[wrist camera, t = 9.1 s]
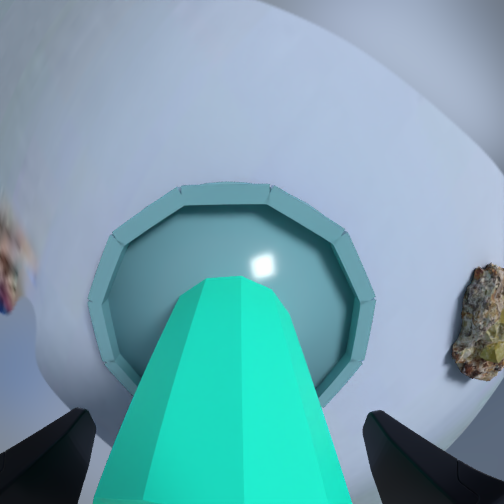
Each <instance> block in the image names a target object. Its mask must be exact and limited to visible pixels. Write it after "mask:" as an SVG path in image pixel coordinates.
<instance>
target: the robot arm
mask: <svg viewBox="0 0 504 504" xmlns="http://www.w3.org/2000/svg"><path fill="white" fill-rule="evenodd" d="M95 433H96V426H95V423H94V421H93V419H92V417H91V415H90V413H89V411H88V410H86V409H83V408H78V407H77V408H74V409H73V410H71V411H70V412H68V413H67V414H65V415H64V416H62V417H60V418H59V419H57V420H55V421H54V422H52V423H51V424H49V425H47V426H46V427H44V428H43V429H41V430H39V431H38V432H36V433H35V434H33V435H31V436H30V437H28V438H26V439H25V440H23V441H21V442H20V443H18V444H16V445H15V446H13V447H11V448H10V449H8V450H6V452H3V453H1V454H0V504H78V500H79V497H80V493H81V490H82V486H83V482H84V480H85V477H86V473H87V470H88V466H89V462H90V458H91V452H92V447H93V443H94V438H95ZM363 437H364V442H365V446H366V451H367V455H368V460H369V464H370V468H371V472H372V475H373V478H374V481H375V483H376V486H377V489H378V492H379V495H380V498H381V501H382V503H383V504H504V481H502V480H499V479H497V478H494V477H492V476H489V475H487V474H484V473H482V472H480V471H478V470H476V469H474V468H472V467H470V466H468V465H467V464H465V463H463V462H462V461H460V460H457V459H456V458H455V457H453V456H451V455H450V454H448V453H446V452H445V451H443V450H442V449H440V448H438V447H437V446H435V445H434V444H432V443H431V442H429V441H427V440H426V439H424V438H423V437H421V436H420V435H418V434H417V433H415V432H413V431H412V430H410V429H409V428H407V427H406V426H404V425H403V424H401V423H400V422H398V421H397V420H395V419H394V418H392V417H391V416H389V415H388V414H387V413H385V412H384V411H382V410H377V411H372V412H370V413H369V414H368V415H367V418H366V421H365V424H364V426H363Z"/></svg>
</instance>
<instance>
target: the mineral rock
mask: <svg viewBox="0 0 504 504" xmlns="http://www.w3.org/2000/svg"><path fill="white" fill-rule="evenodd" d="M461 315H462V328H461V332H460V334H459V337H458V339H457V340H456V341H455V343H454V344H453V350H452V357H453V359H454V360H455V361H456V363H458V364H457V366H458V367H459V369H460V370H461V372H462V373H463V374H465V375H466V376H468V377H470V378H472V379H473V378H475V379H479V380H484V381H490V380H491V379H492V378H493V377H495V376H497V374H498V371H501V370H502V369H503V368H504V268H501V267H498V266H497V265H493V264H492V263H490V264H489V265H487V267H486V269H485V270H484V269H482V268H480V267H478V268H476V269H475V271H474V278H473V280H472V282H471V285H469V286H468V287H467V289H466V292H465V295H464V300H463V308H462V313H461Z"/></svg>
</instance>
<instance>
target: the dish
mask: <svg viewBox="0 0 504 504" xmlns="http://www.w3.org/2000/svg"><path fill="white" fill-rule="evenodd" d="M344 230H345V229H344V228H342V227H341V226H339V225H338V224H336V223H335V222H333V221H332V220H330V219H328V218H327V217H325V216H324V215H323V214H321V213H320V212H319V211H317V210H316V209H314V208H313V207H312V206H310V205H309V204H307V203H305V202H304V201H302V200H300V199H298V198H296V197H294V196H292V195H290V194H288V193H286V192H285V191H283V190H281V189H280V188H278V187H276V186H275V185H272V186H271V187H270V184H252V183H245V182H216V183H205V184H200V185H183V186H181V187H176V188H175V189H173V190H172V191H170V192H168V193H167V194H165V195H164V196H162V197H161V198H160V199H158V200H157V201H155V202H154V203H152V204H150V205H149V206H147V207H146V208H144V209H143V210H142V211H141V212H139V213H138V214H136V215H135V216H134V217H132V218H131V219H129V220H128V221H127V222H125V223H124V224H123V225H121V226H120V227H118V228H117V229H116V230H114V231H113V232H112V233H113V234H112V235H110V236H109V238H108V241H107V244H106V246H105V249H104V252H103V254H102V257H101V260H100V263H99V265H98V268H97V271H96V274H95V277H94V280H93V283H92V286H91V289H90V292H89V296H88V299H89V301H88V307H89V311H90V316H91V320H92V324H93V328H94V332H95V336H96V340H97V344H98V347H99V351H100V354H101V358H102V361H104V362H105V364H104V365H105V366H106V367H107V368H108V369H109V370H110V372H111V373H112V374H113V375H114V376H115V377H116V378H117V379H118V381H119V382H120V383H121V384H122V385H123V386H124V387H125V388H126V389H127V390H128V391H129V392H130V393H131V394H132V396H133V397H134V394H135V392H136V390H137V387H138V385H139V383H140V381H141V378H142V376H143V374H144V372H145V369H146V367H147V365H148V363H149V360H150V358H151V356H152V354H153V352H154V350H155V347H156V345H157V343H158V341H159V339H160V337H161V334H162V332H163V330H164V328H165V326H166V324H167V322H168V320H169V318H170V315H171V313H172V311H173V309H174V307H175V305H176V303H177V301H178V299H179V297H180V296H181V295H182V294H184V293H185V292H187V291H188V290H189V289H191V288H192V287H194V286H195V285H197V284H198V283H200V282H201V281H203V280H204V279H206V278H217V277H230V276H243V277H245V278H247V279H249V280H252V281H254V282H256V283H258V284H261V285H263V286H265V287H268V288H270V289H272V290H273V292H274V293H275V294H276V296H277V297H278V299H279V300H280V301H281V303H282V304H283V306H284V307H285V308H286V310H287V311H288V313H289V314H290V317H291V320H292V323H293V326H294V329H295V332H296V334H297V337H298V340H299V343H300V346H301V349H302V352H303V355H304V358H305V361H306V364H307V367H308V369H309V372H310V375H311V378H312V381H313V384H314V387H315V390H316V393H317V396H318V399H319V402H320V405H321V407H325V406H326V405H327V404H328V403H329V401H330V400H331V399H332V398H333V397H334V396H335V395H336V394H337V393H338V392H339V391H340V389H341V388H342V387H343V386H344V385H345V384H346V383H347V381H348V380H349V379H350V378H351V377H352V376H353V374H354V373H355V372H356V371H357V370H358V368H359V367H360V366H361V365H362V364H363V363H362V362H361V361H364V359H365V354H366V350H367V345H368V340H369V336H370V331H371V325H372V320H373V314H374V309H375V303H376V300H375V299H374V297H376V296H375V294H374V291H373V289H372V287H371V284H370V282H369V279H368V277H367V275H366V272H365V270H364V268H363V265H362V263H361V261H360V258H359V256H358V254H357V252H356V249H355V247H354V245H353V243H352V241H351V238H350V236H349V234H348V232H346V231H344Z"/></svg>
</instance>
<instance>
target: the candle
mask: <svg viewBox="0 0 504 504" xmlns="http://www.w3.org/2000/svg"><path fill="white" fill-rule="evenodd" d="M93 504H352V501H351V498H350V495H349V492H348V489H347V485H346V482H345V479H344V476H343V473H342V470H341V467H340V463H339V460H338V457H337V454H336V451H335V448H334V445H333V442H332V439H331V436H330V433H329V429H328V426H327V423H326V420H325V417H324V414H323V411H322V408H321V405H320V402H319V399H318V396H317V393H316V390H315V387H314V384H313V381H312V378H311V375H310V372H309V369H308V367H307V364H306V361H305V358H304V355H303V352H302V349H301V346H300V343H299V340H298V337H297V334H296V332H295V329H294V326H293V323H292V320H291V317H290V314H289V313H288V311H287V310H286V308H285V307H284V306H283V304H282V303H281V301H280V300H279V299H278V297H277V296H276V294H275V293H274V292H273V290H272V289H270V288H268V287H265V286H263V285H261V284H258V283H256V282H254V281H252V280H249V279H247V278H245V277H243V276H230V277H217V278H206V279H204V280H203V281H201V282H200V283H198V284H197V285H195V286H194V287H192V288H191V289H189V290H188V291H187V292H185V293H184V294H182V295H181V296H180V297H179V299H178V301H177V303H176V305H175V307H174V309H173V311H172V313H171V315H170V318H169V320H168V322H167V324H166V326H165V328H164V330H163V332H162V334H161V337H160V339H159V341H158V343H157V345H156V347H155V350H154V352H153V354H152V356H151V358H150V360H149V363H148V365H147V367H146V369H145V372H144V374H143V376H142V378H141V381H140V383H139V385H138V387H137V390H136V392H135V394H134V397H133V399H132V401H131V404H130V406H129V408H128V411H127V413H126V415H125V418H124V420H123V423H122V425H121V428H120V430H119V432H118V435H117V437H116V440H115V442H114V445H113V447H112V450H111V453H110V455H109V458H108V460H107V463H106V466H105V468H104V471H103V474H102V476H101V479H100V482H99V484H98V487H97V490H96V493H95V495H94V499H93Z"/></svg>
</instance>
